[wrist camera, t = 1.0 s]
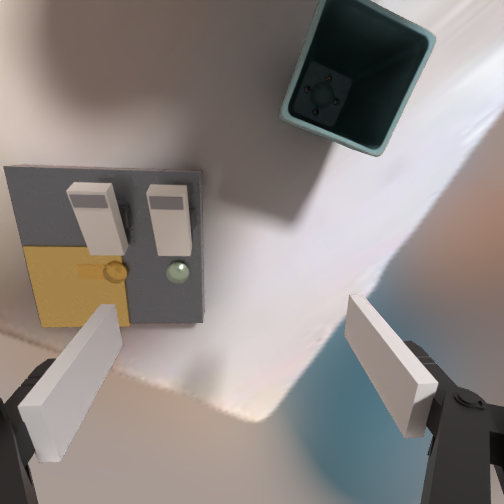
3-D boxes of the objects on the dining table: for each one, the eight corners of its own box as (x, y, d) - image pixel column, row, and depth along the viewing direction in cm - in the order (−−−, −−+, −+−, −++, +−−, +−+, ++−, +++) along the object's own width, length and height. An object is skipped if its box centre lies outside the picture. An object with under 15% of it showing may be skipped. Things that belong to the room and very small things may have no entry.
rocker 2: (150, 184, 26) (145, 193, 25) (186, 185, 26) (184, 194, 25) (161, 245, 30) (157, 256, 29) (192, 246, 31) (190, 257, 29)
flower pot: (341, 156, 31) (381, 159, 23) (264, 125, 30) (278, 117, 21) (379, 67, 29) (440, 35, 20) (297, 29, 27) (328, -24, 19)
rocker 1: (73, 182, 26) (65, 191, 24) (111, 183, 26) (105, 192, 24) (96, 245, 30) (90, 256, 29) (128, 245, 30) (123, 256, 29)
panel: (21, 164, 29) (-4, 166, 26) (201, 170, 31) (198, 173, 28) (53, 313, 35) (36, 329, 32) (204, 313, 37) (202, 328, 34)
